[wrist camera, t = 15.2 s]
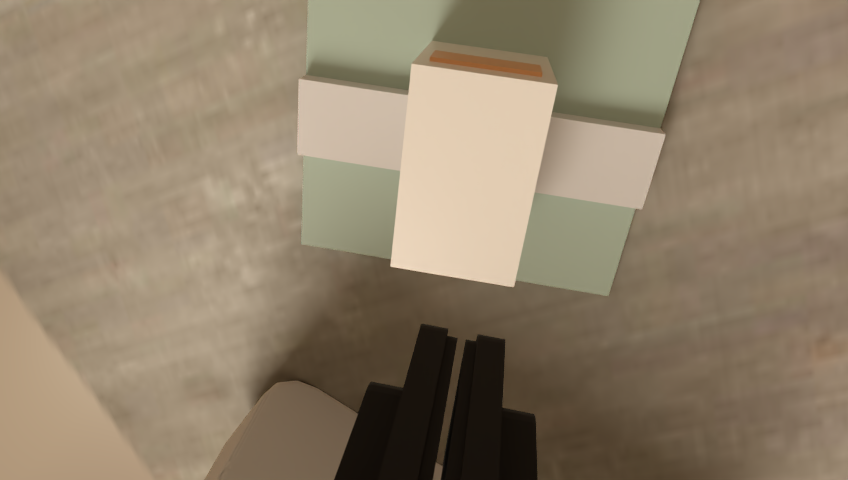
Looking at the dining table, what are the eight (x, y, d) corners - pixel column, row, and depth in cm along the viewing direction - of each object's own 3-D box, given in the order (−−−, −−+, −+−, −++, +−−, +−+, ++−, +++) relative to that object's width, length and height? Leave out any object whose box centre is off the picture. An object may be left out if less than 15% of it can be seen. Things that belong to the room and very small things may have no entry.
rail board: (694, -2, 24) (707, 1, 22) (606, 288, 30) (611, 306, 29) (315, -54, 25) (302, -54, 23) (305, 237, 31) (294, 252, 30)
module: (548, 53, 25) (559, 80, 20) (512, 225, 29) (513, 287, 23) (432, 36, 25) (411, 59, 20) (412, 209, 29) (390, 266, 24)
